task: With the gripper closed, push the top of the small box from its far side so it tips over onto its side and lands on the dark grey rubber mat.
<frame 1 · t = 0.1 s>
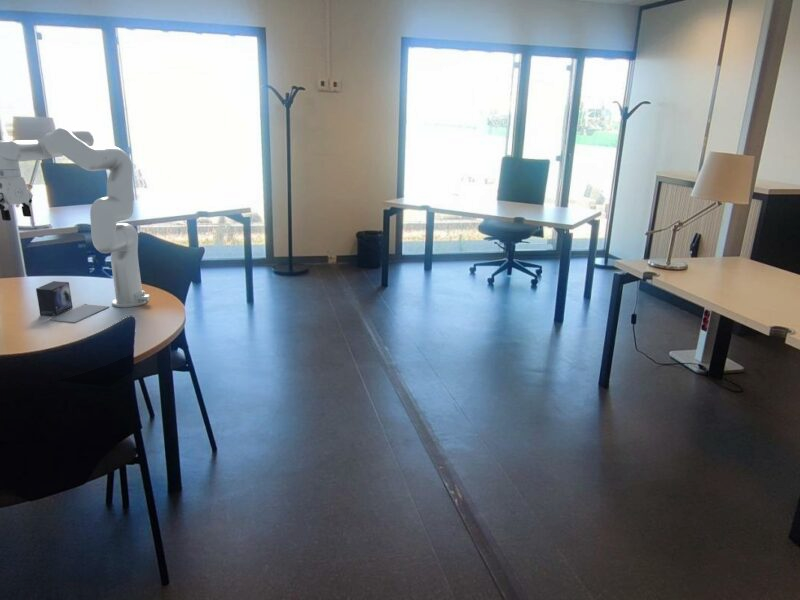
hand: (17, 218, 215), 31 cm above the table, tool pointing down, fingers open, 9 cm apart
mat: (80, 313, 203), on the table
small box: (57, 312, 205), on the table
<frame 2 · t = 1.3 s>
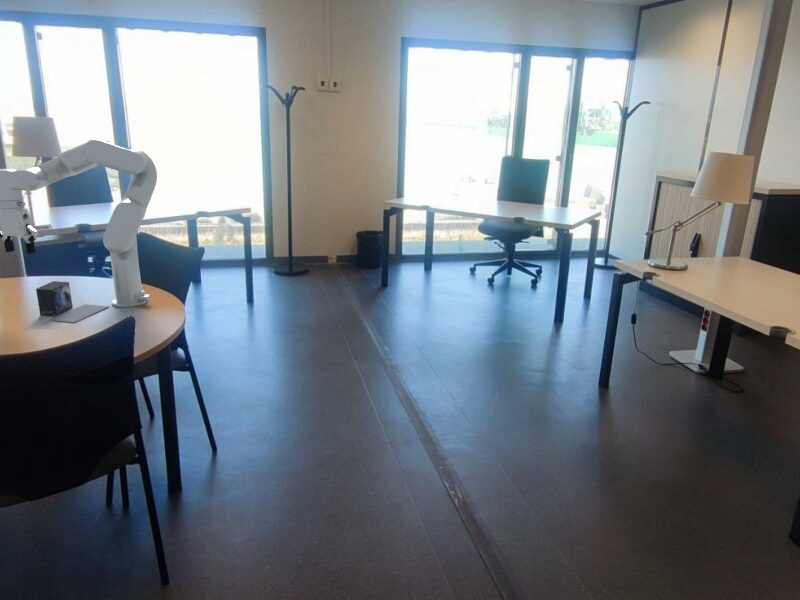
hand: (20, 252, 200), 22 cm above the table, tool pointing down, fingers open, 8 cm apart
nothing on the table moved.
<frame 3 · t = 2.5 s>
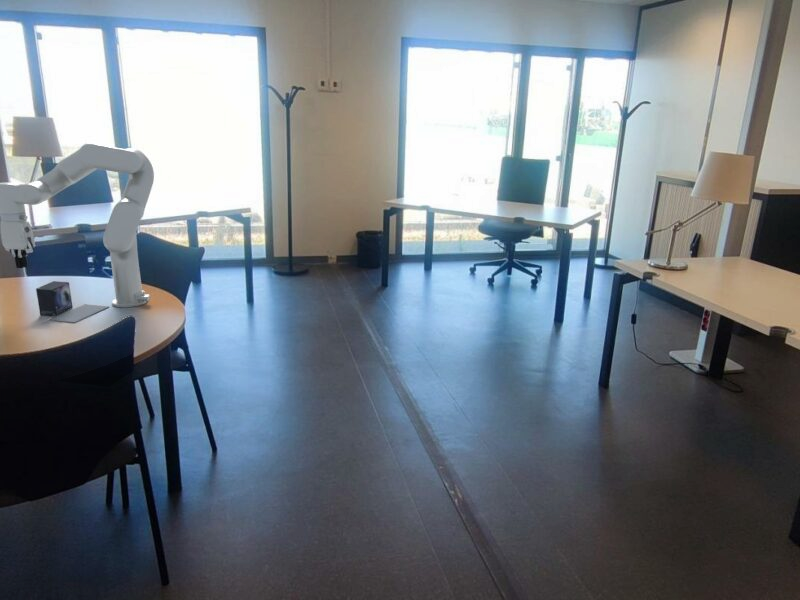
hand: (21, 267, 202), 16 cm above the table, tool pointing down, fingers closed
nothing on the table moved.
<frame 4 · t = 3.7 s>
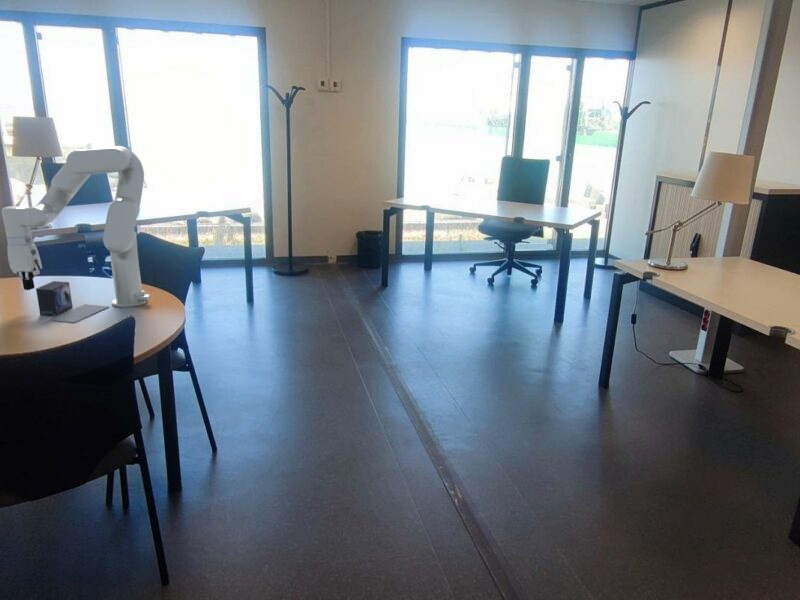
hand: (29, 288, 204), 8 cm above the table, tool pointing down, fingers closed
nothing on the table moved.
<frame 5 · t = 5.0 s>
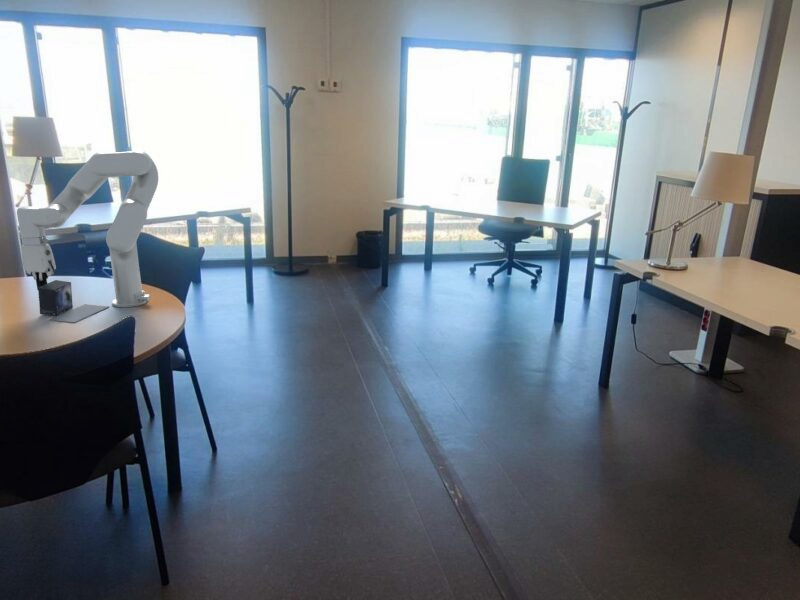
hand: (42, 289, 203), 8 cm above the table, tool pointing down, fingers closed
small box: (57, 311, 205), on the table, touching gripper
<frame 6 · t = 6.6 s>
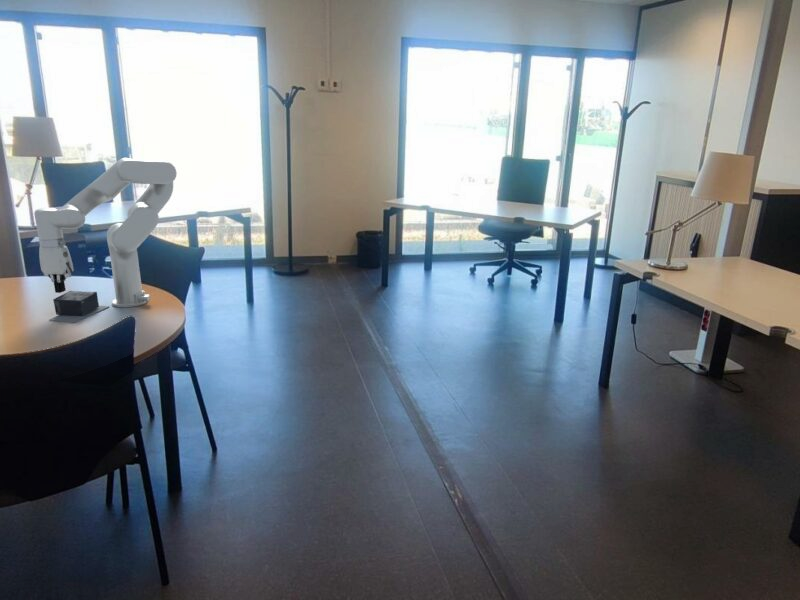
hand: (60, 291, 202), 8 cm above the table, tool pointing down, fingers closed
small box: (62, 302, 204), point 4 cm above the table, touching mat
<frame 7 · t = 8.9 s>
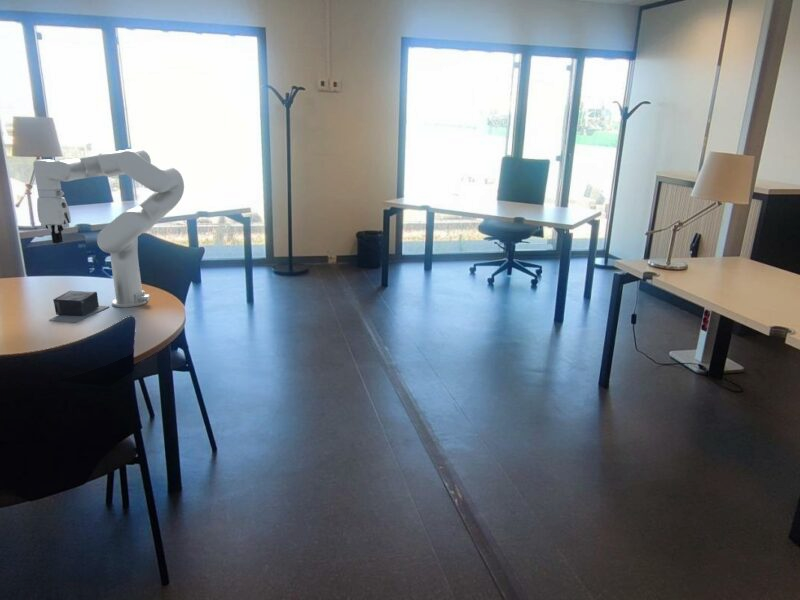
hand: (57, 242, 208), 24 cm above the table, tool pointing down, fingers closed
nothing on the table moved.
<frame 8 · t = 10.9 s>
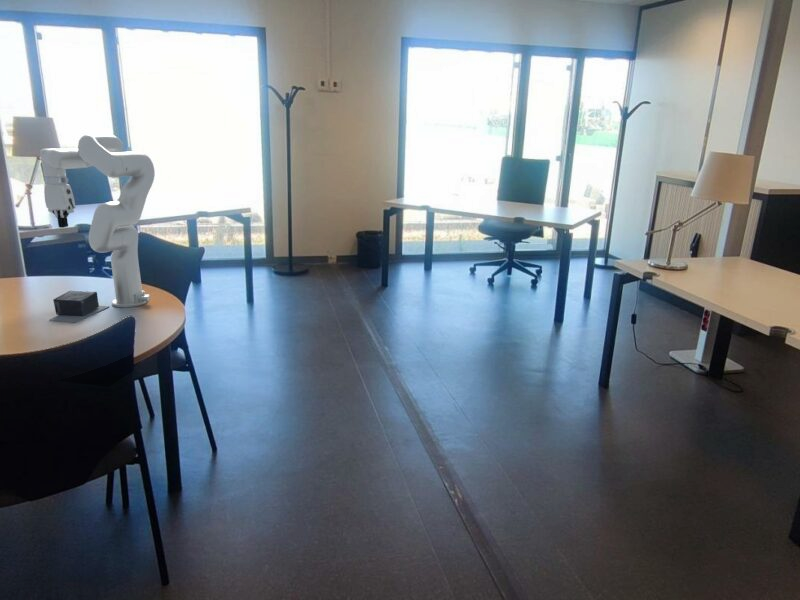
hand: (63, 226, 221), 27 cm above the table, tool pointing down, fingers closed
nothing on the table moved.
at the end: small box tilted 90°; small box touching mat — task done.
